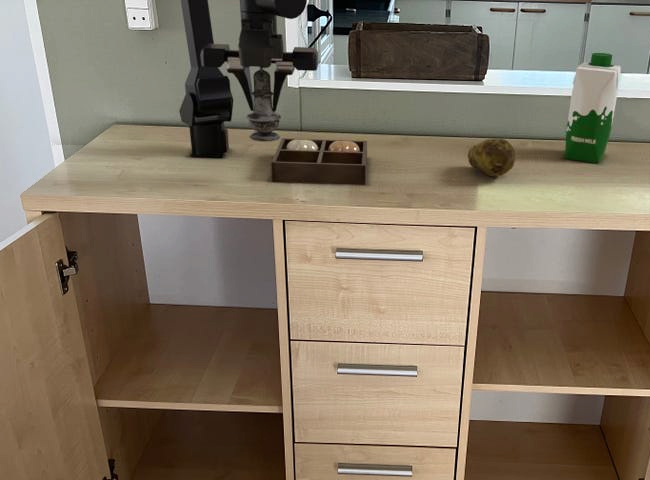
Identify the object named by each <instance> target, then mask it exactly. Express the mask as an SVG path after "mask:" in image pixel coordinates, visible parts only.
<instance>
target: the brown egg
mask: <svg viewBox="0 0 650 480" xmlns="http://www.w3.org/2000/svg"><path fill="white" fill-rule="evenodd" d="M351 141H352V140H351ZM351 141H335V142H333V143H332V144H331V145H330V146H329V148H328V151H346V152H360V148H359V146H358V145H357V144H356V143H354V142H351Z"/></svg>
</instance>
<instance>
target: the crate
mask: <svg viewBox="0 0 650 480" xmlns="http://www.w3.org/2000/svg"><path fill="white" fill-rule="evenodd" d="M292 140H310V141H313V142H314V143H315V144H316V145H317V146H318V149H319V151H315V150H286V147H287V145H288V143H289V142H291V141H292ZM335 141H351V142H354V143H356V144H357V145H358V146H359V148H360V152H346V151H328V148H329V146H330V145H331V144H332V143H333V142H335ZM367 162H368V141H367V140H350V139H349V140H347V139H317V138H290V137H289V138H285V137H282V138H280V141H279V144H278V146H277V149H276V151H275V153H274V155H273V158H272V160H271V162H270V169H271V182H273V183H274V182H275V183H302V184H303V183H307V184H339V185H366V179H367V164H368V163H367Z"/></svg>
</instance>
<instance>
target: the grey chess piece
mask: <svg viewBox="0 0 650 480" xmlns="http://www.w3.org/2000/svg"><path fill="white" fill-rule="evenodd" d="M252 76H253V77H252V78H253V92H252V95H253V98H254V110H253V111H251V113H249V114H246V116H245V117H246V119H247V120H248V125H249V127H250V128H251V129H252V130H253V131H254V132H253V133H251V134H250V135H249V137H248V138H249V139H250V140H252V141H256V142H275V141H278V140H281V135H280V134H278V133H276V132H275V131H277V129H278V128H279V126H280V120H281V118H282V116H281V114H278V113H276V111H275V112H273V91H272V87H271V86H272V85H271V84H272V83H271V82H272V81H271V74H270V72H269V71H267V70H265V69H264V68H261V67H259V69H258V70H255V72H254V73H253V75H252Z"/></svg>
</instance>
